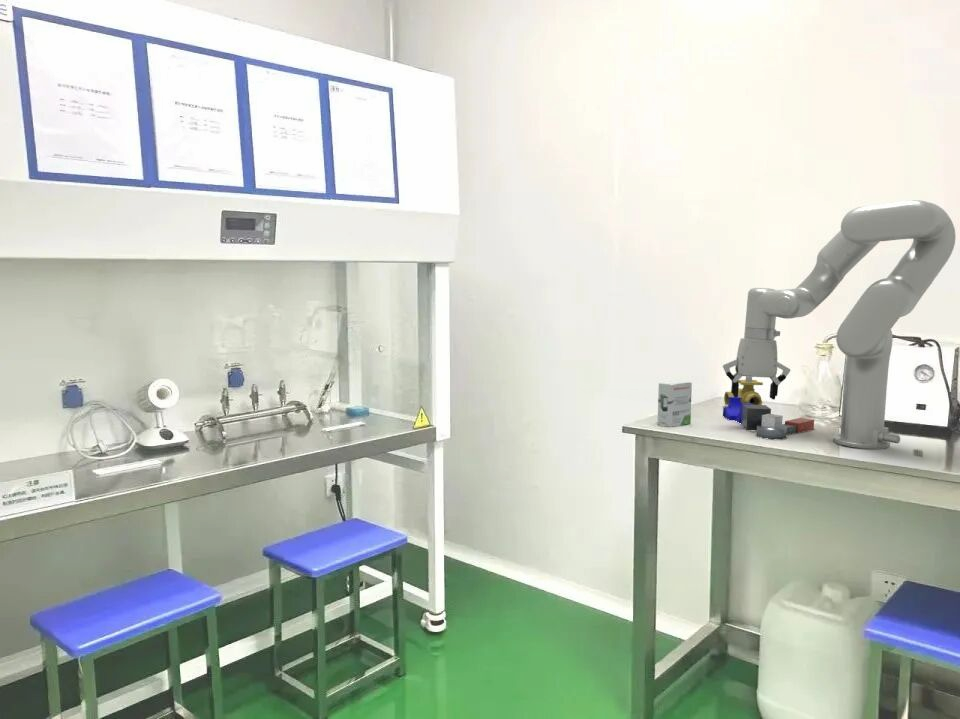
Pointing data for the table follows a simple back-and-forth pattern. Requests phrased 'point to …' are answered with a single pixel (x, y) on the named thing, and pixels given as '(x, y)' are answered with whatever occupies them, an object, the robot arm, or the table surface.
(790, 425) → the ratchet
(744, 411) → the dark cube on disc
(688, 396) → the ink box
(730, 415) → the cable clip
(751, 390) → the ball valve
